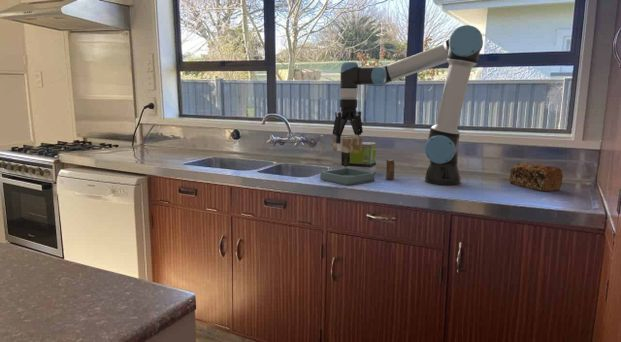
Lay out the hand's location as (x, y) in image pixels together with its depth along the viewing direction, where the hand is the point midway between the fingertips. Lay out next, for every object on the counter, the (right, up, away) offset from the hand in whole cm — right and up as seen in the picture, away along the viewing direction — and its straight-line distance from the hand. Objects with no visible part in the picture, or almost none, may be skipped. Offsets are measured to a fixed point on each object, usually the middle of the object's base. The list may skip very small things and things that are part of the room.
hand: (347, 150), depth 200 cm
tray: (0, -13, +2) cm, 14 cm away
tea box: (+7, -10, +22) cm, 26 cm away
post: (+20, -13, +6) cm, 24 cm away
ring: (+1, -1, -1) cm, 1 cm away
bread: (+78, -16, -10) cm, 80 cm away
